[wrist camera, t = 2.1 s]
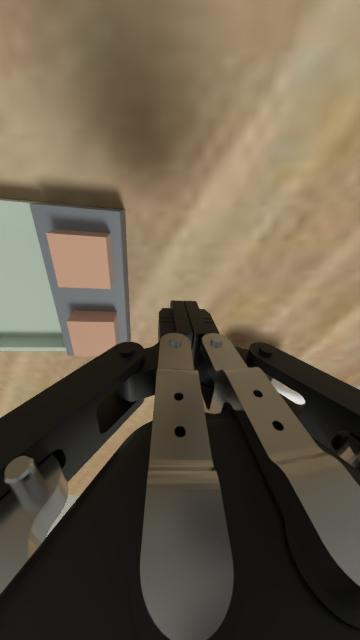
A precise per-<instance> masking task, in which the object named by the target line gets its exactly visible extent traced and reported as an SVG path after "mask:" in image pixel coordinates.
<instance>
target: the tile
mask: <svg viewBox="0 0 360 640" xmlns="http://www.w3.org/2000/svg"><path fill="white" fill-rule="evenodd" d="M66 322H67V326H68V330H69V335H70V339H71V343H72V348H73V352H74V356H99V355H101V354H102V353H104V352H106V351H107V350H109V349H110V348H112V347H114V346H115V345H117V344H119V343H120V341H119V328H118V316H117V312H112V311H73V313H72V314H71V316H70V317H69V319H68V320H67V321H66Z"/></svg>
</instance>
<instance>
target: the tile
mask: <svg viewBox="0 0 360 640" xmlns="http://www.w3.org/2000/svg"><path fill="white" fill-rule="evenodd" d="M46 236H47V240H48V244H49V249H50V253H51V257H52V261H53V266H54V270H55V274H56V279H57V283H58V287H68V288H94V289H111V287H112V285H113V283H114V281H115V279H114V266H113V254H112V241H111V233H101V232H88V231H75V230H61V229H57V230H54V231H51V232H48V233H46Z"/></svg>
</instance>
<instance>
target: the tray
mask: <svg viewBox="0 0 360 640" xmlns="http://www.w3.org/2000/svg"><path fill="white" fill-rule="evenodd" d="M31 203H45V202H36V201H25V200H14V199H3V198H0V351H66V347H65V343H64V339H63V335H62V331H61V327H60V323H59V319H58V315H57V311H56V307H55V304H54V300H53V296H52V292H51V288H50V284H49V280H48V276H47V272H46V268H45V264H44V260H43V256H42V252H41V248H40V244H39V241H38V237H37V233H36V229H35V225H34V221H33V217H32V213H31V209H30V205H29V204H31Z"/></svg>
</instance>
